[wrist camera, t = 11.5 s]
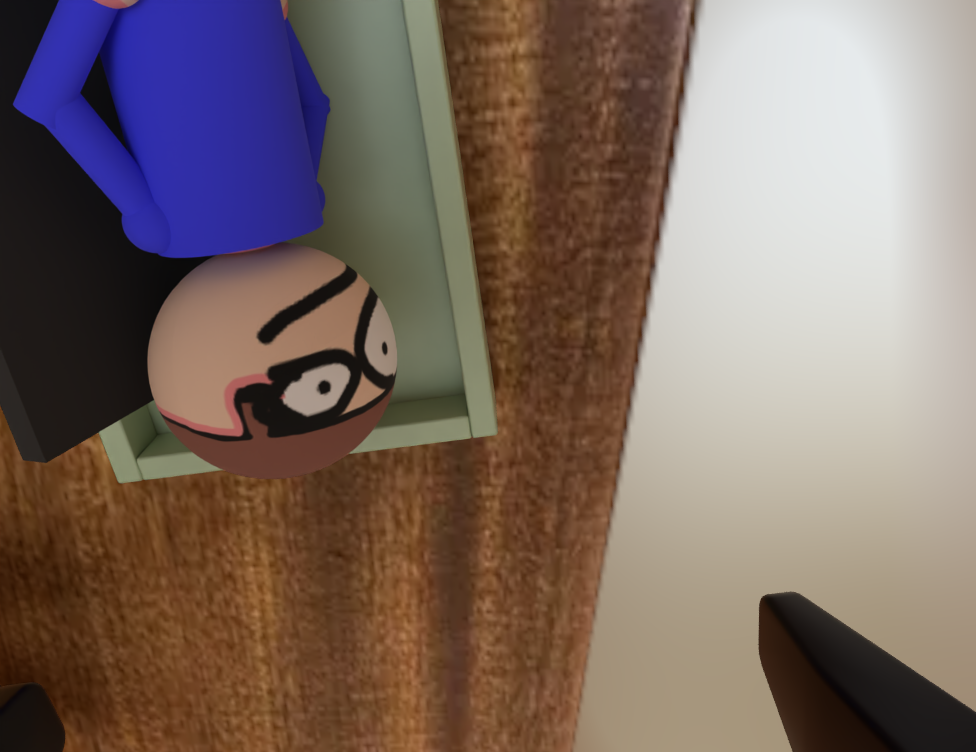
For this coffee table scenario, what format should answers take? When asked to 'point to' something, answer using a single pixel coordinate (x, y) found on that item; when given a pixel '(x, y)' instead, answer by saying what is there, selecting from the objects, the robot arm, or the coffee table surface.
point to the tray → (380, 228)
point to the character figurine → (176, 238)
